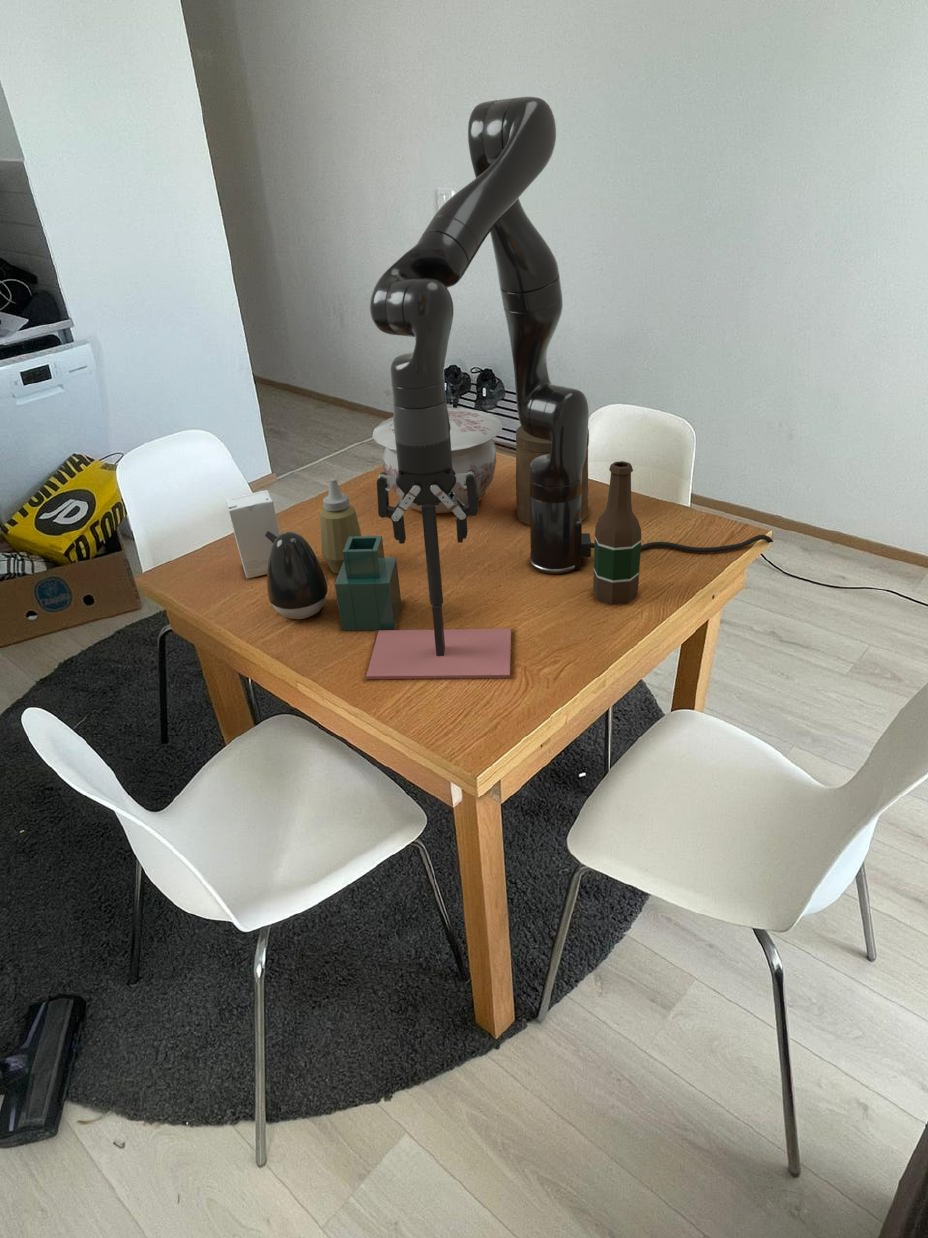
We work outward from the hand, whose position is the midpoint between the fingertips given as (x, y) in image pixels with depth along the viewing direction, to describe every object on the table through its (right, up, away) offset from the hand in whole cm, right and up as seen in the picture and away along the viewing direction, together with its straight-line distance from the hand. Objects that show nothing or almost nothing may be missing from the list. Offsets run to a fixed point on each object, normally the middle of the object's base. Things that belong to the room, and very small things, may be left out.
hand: (431, 540), depth 120 cm
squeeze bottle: (-18, -2, +38) cm, 42 cm away
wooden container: (+23, +11, +53) cm, 59 cm away
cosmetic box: (-34, -2, +39) cm, 52 cm away
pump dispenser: (-24, -10, +25) cm, 36 cm away
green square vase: (-11, -11, +22) cm, 27 cm away
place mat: (+1, -17, +11) cm, 20 cm away
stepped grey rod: (+1, -17, +10) cm, 20 cm away
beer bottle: (+31, -7, +24) cm, 40 cm away
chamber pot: (0, +14, +62) cm, 64 cm away
